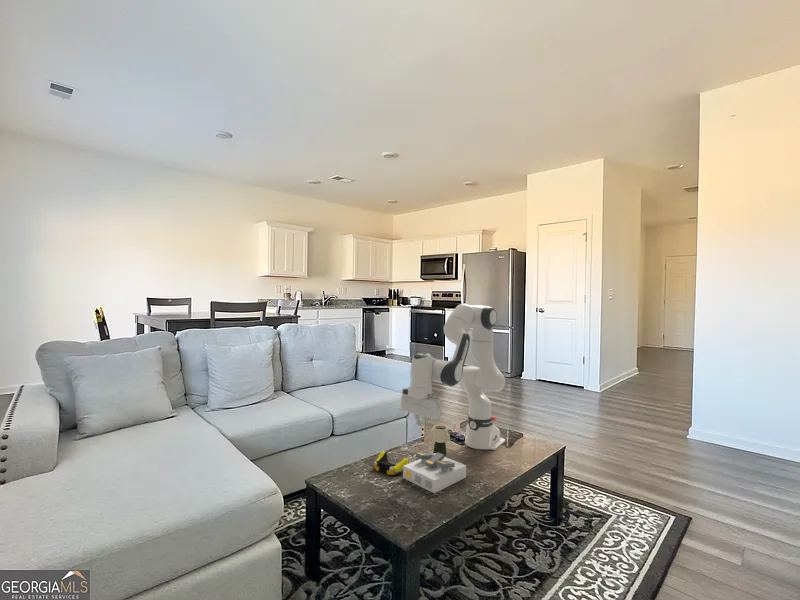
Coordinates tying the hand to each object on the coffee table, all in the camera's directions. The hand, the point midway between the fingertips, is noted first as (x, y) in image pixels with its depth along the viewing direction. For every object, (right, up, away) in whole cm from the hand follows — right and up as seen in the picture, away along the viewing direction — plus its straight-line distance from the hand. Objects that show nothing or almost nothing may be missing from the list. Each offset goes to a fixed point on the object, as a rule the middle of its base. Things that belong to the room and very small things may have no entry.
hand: (420, 425), depth 165 cm
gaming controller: (-13, -21, +5) cm, 25 cm away
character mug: (+10, -21, +23) cm, 33 cm away
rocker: (+6, -14, -1) cm, 15 cm away
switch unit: (+6, -21, -1) cm, 22 cm away
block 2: (+10, -14, -5) cm, 18 cm away
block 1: (+2, -14, +3) cm, 14 cm away
